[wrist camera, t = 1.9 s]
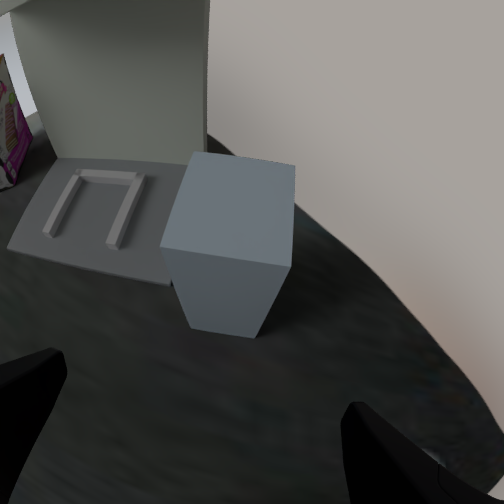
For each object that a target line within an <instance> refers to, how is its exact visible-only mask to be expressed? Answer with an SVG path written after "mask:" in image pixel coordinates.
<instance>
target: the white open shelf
mask: <svg viewBox="0 0 504 504" xmlns="http://www.w3.org/2000/svg"><path fill="white" fill-rule="evenodd" d="M209 11H210V0H0V16H2V15H4V14H5V13H7V12H10V17H11V22H12V27H13V32H14V36H15V40H16V44H17V48H18V52H19V56H20V59H21V63H22V66H23V70H24V73H25V76H26V79H27V82H28V85H29V88H30V91H31V94H32V97H33V100H34V102H35V105H36V108H37V110H38V113H39V116H40V118H41V121H42V123H43V126H44V128H45V130H46V133H47V135H48V137H49V140H50V142H51V144H52V147H53V149H54V151H55V153H56V155H57V157H58V158H57V160H56V161H55V163H54V164H53V166H52V167H51V169H50V170H49V172H48V173H47V175H46V176H45V178H44V180H43V181H42V183H41V184H40V186H39V188H38V189H37V191H36V193H35V194H34V196H33V198H32V200H31V201H30V203H29V205H28V207H27V208H26V210H25V212H24V214H23V216H22V218H21V220H20V222H19V224H18V226H17V228H16V230H15V232H14V234H13V236H12V238H11V240H10V242H9V244H8V246H7V249H8V250H9V251H12V252H16V253H20V254H24V255H27V256H31V257H35V258H39V259H43V260H47V261H51V262H55V263H59V264H63V265H68V266H72V267H76V268H80V269H85V270H89V271H94V272H98V273H103V274H108V275H112V276H117V277H122V278H127V279H132V280H137V281H142V282H147V283H152V284H158V285H163V286H168V287H171V283H172V280H171V277H170V274H169V272H168V269H167V266H166V264H165V261H164V258H163V255H162V252H161V249H160V244H161V240H162V237H163V234H164V231H165V228H166V225H167V222H168V219H169V216H170V213H171V210H172V207H173V205H174V202H175V199H176V196H177V193H178V191H179V188H180V185H181V183H182V180H183V177H184V175H185V172H186V169H187V167H188V164H189V162H190V159H191V157H192V154H193V152H194V151H198V152H207V62H208V61H207V60H208V32H209Z"/></svg>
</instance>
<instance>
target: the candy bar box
mask: <svg viewBox="0 0 504 504" xmlns="http://www.w3.org/2000/svg"><path fill="white" fill-rule="evenodd" d="M32 138H33V136H32V134H31V132H30V129H29V127H28V124H27V122H26V120H25V117H24V115H23V112H22V110H21V107H20V104H19V101H18V99H17V96H16V94H15V90H14V87H13V84H12V81H11V78H10V74H9V72H8V68H7V65H6V61H5V57H4V54H1V55H0V191H2V190H5V189H8V188H10V187H12V186H14V185H15V183H16V180H17V177H18V174H19V171H20V168H21V165H22V163H23V160H24V157H25V155H26V152H27V150H28V147H29V145H30V143H31V140H32Z"/></svg>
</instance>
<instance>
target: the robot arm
mask: <svg viewBox="0 0 504 504" xmlns="http://www.w3.org/2000/svg"><path fill="white" fill-rule="evenodd" d="M66 377H67V367H66V363H65V359H64V355H63V353H62V351H60V350H58V349H55V348H52V347H51V348H48V349H45V350H42V351H39V352H36V353H33V354H30V355H27V356H24V357H22V358H19V359H16V360H13V361H10V362H7V363H4V364H1V365H0V504H8V502H9V498H10V496H11V494H12V491H13V489H14V487H15V484H16V482H17V480H18V477H19V475H20V473H21V471H22V468H23V466H24V464H25V462H26V460H27V458H28V456H29V454H30V452H31V450H32V448H33V446H34V444H35V442H36V440H37V438H38V436H39V434H40V432H41V430H42V428H43V426H44V425H45V423H46V421H47V419H48V417H49V415H50V413H51V411H52V409H53V407H54V405H55V402H56V400H57V398H58V395H59V393H60V391H61V388H62V386H63V384H64V382H65V379H66ZM341 437H342V450H343V463H344V470H345V475H346V481H347V486H348V491H349V497H350V502H351V504H504V500H499V499H496V498H494V497H492V496H490V495H488V494H486V493H484V492H482V491H481V490H479V489H477V488H475V487H473V486H472V485H470V484H468V483H467V482H465V481H463V480H462V479H460V478H459V477H457V476H456V475H454V474H453V473H451V472H450V471H449V470H447V469H446V468H445V467H443V466H442V465H441V464H438V462H437V461H436V460H434V459H433V458H432V457H430V456H429V455H428V454H427V453H425V452H424V451H423V450H422V449H420V448H419V447H418V446H417V445H415V444H414V443H413V442H412V441H410V440H409V439H408V438H407V437H405V436H404V435H403V434H402V433H400V432H399V431H398V430H397V429H396V428H394V427H393V426H392V425H391V424H390V423H388V422H387V421H386V420H385V419H384V418H382V417H381V416H380V415H379V414H378V413H376V412H375V411H374V410H373V409H372V408H371V407H369V406H368V405H367V404H366V403H364V402H352V403H350V404H349V406H348V408H347V410H346V412H345V414H344V416H343V418H342V420H341Z"/></svg>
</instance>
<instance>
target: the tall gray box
mask: <svg viewBox="0 0 504 504" xmlns="http://www.w3.org/2000/svg"><path fill="white" fill-rule="evenodd" d="M294 192H295V166H294V165H289V164H283V163H278V162H272V161H265V160H259V159H253V158H246V157H238V156H232V155H224V154H216V153H207V152H198V151H194V152H193V154H192V157H191V159H190V162H189V164H188V167H187V169H186V172H185V175H184V177H183V180H182V183H181V185H180V188H179V191H178V193H177V196H176V199H175V202H174V205H173V207H172V210H171V213H170V216H169V219H168V222H167V225H166V228H165V231H164V234H163V237H162V240H161V244H160V249H161V252H162V255H163V258H164V261H165V264H166V266H167V269H168V272H169V274H170V277H171V280H172V282H173V285H174V288H175V290H176V293H177V295H178V298H179V300H180V303H181V306H182V308H183V310H184V313H185V315H186V318H187V320H188V323H189V325H190V327H191V328H192V329H198V330H204V331H209V332H215V333H222V334H228V335H235V336H242V337H249V338H255V337H256V335H257V333H258V331H259V329H260V327H261V325H262V323H263V322H264V320H265V318H266V316H267V314H268V312H269V310H270V308H271V306H272V304H273V302H274V300H275V298H276V296H277V294H278V292H279V290H280V288H281V286H282V284H283V282H284V280H285V278H286V276H287V274H288V272H289V270H290V268H291V260H292V241H293V220H294V194H295V193H294Z"/></svg>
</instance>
